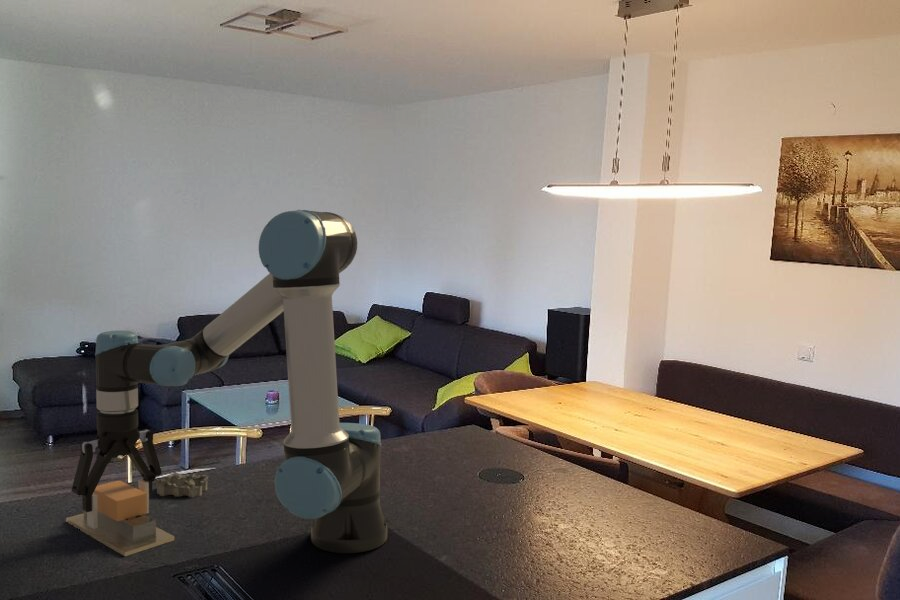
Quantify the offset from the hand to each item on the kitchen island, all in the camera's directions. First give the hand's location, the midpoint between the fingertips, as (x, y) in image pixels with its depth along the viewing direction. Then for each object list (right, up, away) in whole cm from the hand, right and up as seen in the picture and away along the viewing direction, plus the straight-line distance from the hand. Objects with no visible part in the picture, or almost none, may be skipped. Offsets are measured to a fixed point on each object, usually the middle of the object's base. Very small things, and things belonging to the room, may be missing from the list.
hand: (118, 518), depth 149 cm
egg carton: (+4, -1, +23) cm, 24 cm away
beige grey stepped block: (0, -3, 0) cm, 2 cm away
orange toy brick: (0, -1, 0) cm, 1 cm away
